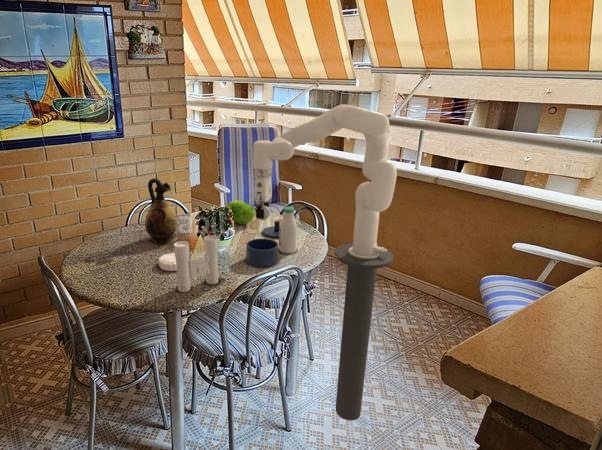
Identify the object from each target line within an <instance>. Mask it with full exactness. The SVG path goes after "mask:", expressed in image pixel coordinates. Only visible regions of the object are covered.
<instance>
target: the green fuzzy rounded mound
mask: <svg viewBox="0 0 602 450" xmlns="http://www.w3.org/2000/svg"><path fill="white" fill-rule="evenodd" d="M227 207H229V208H230V209H231V210H232V213H233V218H232V220H233V221H232V220H231V221H232V222H234V223H237V224H238V225H239V224H240V225H246V224H249V223H250V222H251V221H253V219H254V218H255V217H256V212H255V210H254V208H255V207H253V206H252V205H251V204H249V203H247V202H245V201H243V200H237V199H235V200H232V201H230V202H229V203H227V204H226V208H227Z"/></svg>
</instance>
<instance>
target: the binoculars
mask: <svg viewBox="0 0 602 450" xmlns="http://www.w3.org/2000/svg"><path fill="white" fill-rule="evenodd" d="M203 249H204V254H205V255H204V256H201V257H197V258H191V259H190V243H189V242H188V241H186V240H185V241H184V240H181V241H177V242H174V243H173V253H175V258H176V268H177V271H176V280H177V281H176V286H177V290H178V292H181V293H186V292H189V291H190V290H191V279H193V278H198V277H202V276H204V275H205V281H206V283H207V284H208V285H215V284H218V283H219V278H220V277H219V263H218V262H219V260H218V251H219V237H218V236H217V235H214V234H210V235H205V236H204V237H203Z"/></svg>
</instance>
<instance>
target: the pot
mask: <svg viewBox="0 0 602 450" xmlns="http://www.w3.org/2000/svg"><path fill="white" fill-rule="evenodd" d="M245 245H246V247H245V248H246V249H245V252H246V253H245V255H246V256H245V257H246V263H247V264H248V265H250V266H253V267H257V268H269V267H273V266H275V265H277V264H278V261H279V242H278V241H275V240H273V239H270V238H254V239H250V240H248V241H247V242H246V244H245Z"/></svg>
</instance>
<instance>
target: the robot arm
mask: <svg viewBox="0 0 602 450" xmlns="http://www.w3.org/2000/svg"><path fill="white" fill-rule="evenodd" d="M389 128H390V120H389V118H388V116H387V115H385V114H384V113H382V112H377V111H373V110H369V109H367V108H366V109H365V108H361V107H359V106H355V105H351V104H345V103H343V104H339V105H336V106H334V107H332V108H331V109H329V110H327V111H325V112H323V113H321V114H320V115H319V116H316V117H315V118H313V119H311V120H309V121H307V122H304V123H302V124H300V125H297V126H295V127H293V128H291V129H289V130H287V131H285V132H283V133H281V134H279V135H278V136H276V137H274V139H272V140H271V141H270V140H267V139H265V140H263V139H261V140H256V141H254V142H253V146H252V147H253V148H252V152H253V153H252V164H253V165H252V170H253V171H252V176H253V178H254V196H253V197H254V202H255V207H256V212H255V218H256V219H259V218H260V219H263V218H264V209H263V206H264V205H265V206H267V207H269V208H270V204H269V203H270V200H271V199H272V197H273V185H272V183H273V181H272V177H273V160H275V161H288V160H289V159H291V158H292V157H293V156H294V154H295V148H297V147H299V146H301V145H304V144H310V143H311V144H312V143H317V142H320V141H322V140H324V139H326V138H327V137H330V136H331V135H332V134H335V133H336V132H338V131H341V130H342V129H346V130H349V131H351V132H356V133H359V134H363V137H364V139H365V152H364V159H363V164H362V174H363V176H364V177H365V178H366V179H368V180H369V181H364V182H362V183H360V184H359V185H358V186H357V188H356V190H355V196H354V197H355V218H354V225H353V226H354V227H353V238H352V243H353V247H351V248H350V249H349V251H348V252H349V254H350V255H351V256H353V257H356V258H359V259H375V258H377V257H378V256H379V253H385V254H387V250H388V249H387V248H385V247H383V246H379V245H378V243H377V240H378V234H379V233H378V231H379V224H380V223H379V222H380V213H381V212H384V211H386V210H387V209H388V208H389V207H390V206H391V204H392V201H393V198H394V193H395V189H396V182H397V176H398V172H397V171H398V170H397V168H396V165H395V164H394V163H393V162H392V161H390V160H388V156H389V149H390V138H389V137H390V136H389V133H388V130H389ZM261 204H262V206H261ZM260 219H259V220H260ZM378 246H379V247H378Z"/></svg>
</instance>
